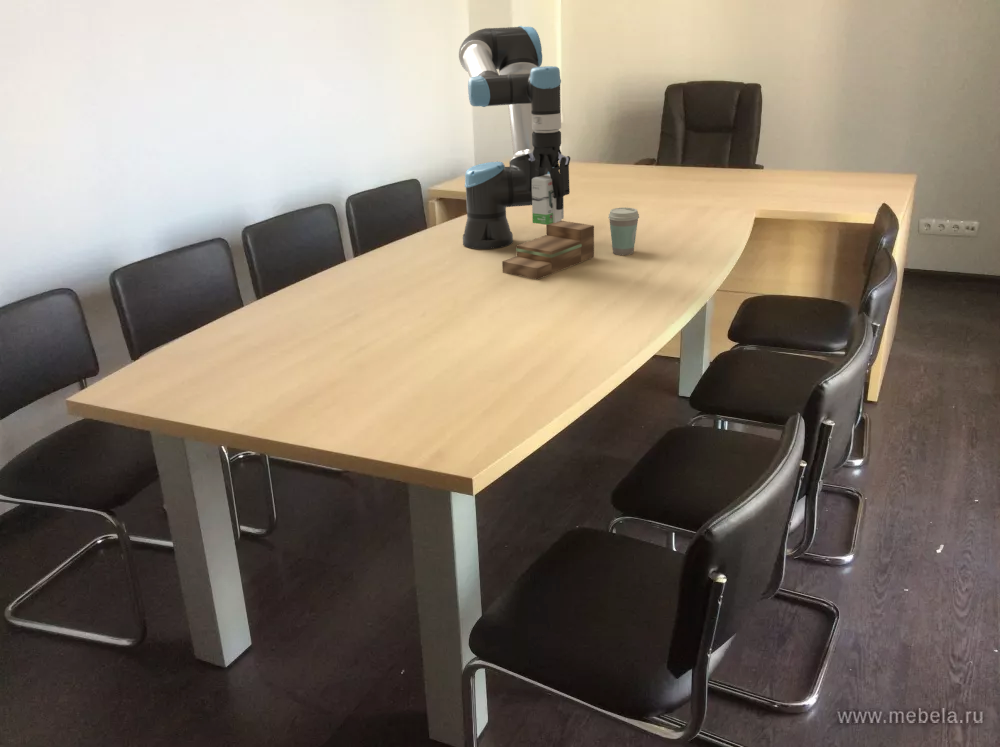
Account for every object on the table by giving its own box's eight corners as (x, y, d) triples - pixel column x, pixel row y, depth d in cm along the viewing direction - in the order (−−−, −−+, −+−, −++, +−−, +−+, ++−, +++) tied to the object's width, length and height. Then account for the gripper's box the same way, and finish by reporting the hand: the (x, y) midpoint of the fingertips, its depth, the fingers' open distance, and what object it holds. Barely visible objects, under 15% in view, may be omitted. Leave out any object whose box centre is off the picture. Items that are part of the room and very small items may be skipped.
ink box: (547, 225, 221) (546, 180, 216) (531, 223, 223) (530, 178, 219) (564, 218, 227) (564, 174, 222) (549, 216, 230) (548, 173, 225)
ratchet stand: (502, 272, 226) (500, 239, 222) (559, 251, 242) (559, 220, 239) (537, 279, 218) (536, 245, 214) (594, 257, 235) (594, 225, 231)
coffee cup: (637, 256, 233) (638, 213, 229) (606, 256, 235) (607, 213, 230) (639, 248, 241) (640, 207, 236) (609, 248, 243) (609, 207, 238)
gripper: (510, 130, 219) (513, 218, 228) (565, 134, 208) (567, 227, 217) (528, 127, 224) (531, 213, 233) (583, 130, 213) (584, 221, 222)
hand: (548, 220), depth 225 cm, fingers closed on ink box, 5 cm apart
